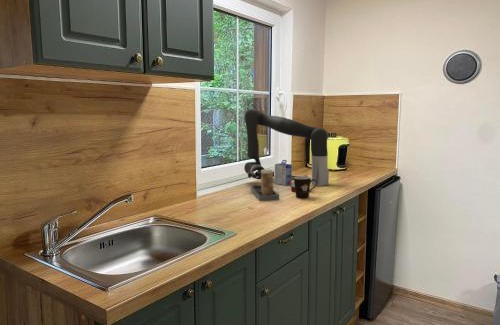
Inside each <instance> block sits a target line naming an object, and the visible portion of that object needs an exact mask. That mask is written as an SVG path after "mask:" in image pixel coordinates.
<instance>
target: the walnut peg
mask: <svg viewBox="0 0 500 325" xmlns="http://www.w3.org/2000/svg"><path fill="white" fill-rule="evenodd" d="M273 172H274V171H273V170H272V169H268V168H267V169H265V170H261V179H260V180H261V182H260V183H261V184H260V186H261V195H273V190H274V177H273Z"/></svg>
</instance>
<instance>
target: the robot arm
mask: <svg viewBox="0 0 500 325" xmlns="http://www.w3.org/2000/svg"><path fill="white" fill-rule="evenodd" d="M244 121H245V127H246V138H247V145H246V148H247V154H246V155H247V158H249V159H253V160H254V161H250V162H249V161H248V162H246V163H245V164H244V168H243V169H244V171H245V173H246V174H247V177H248V178H249V179H251V178H252V179H255V180H261V170H266V169H265V168H264V167H263V166H262V163H261V160H260V154H259V153H260V152H259V150H260V149H259V148H260V146H259V143H260V142H259V139H258V125H259V126H262V127H265V128H266V127H267V128H269V129H272V130H273V131H276V132H277V133H281V134H285V135H288V136H291V137H292V136H293V137H299V138H300V137H301V138H305V139H308V140H310V152H311V180H313V179H315V180H317V186H316V187H318V186H319V187H325V186H328V185H329V182H330V180H329V179H330V177H329V174H330V173H329V172H330V170H329V168H328V165H329V164H328V158H329V157H328V154H329V153H328V151H329V150H328V139H329V133H328V131H327V130H326V129H324V128H323V127H315V126H311V125H307V124H304V123H302V122H300V121H296V120H293V119H291V118H287V117H283V116H277V115H271V114H268V113H265V112H262V111H260V110H258V109H255V108H249V109H247V110H246V111H245V112H244ZM273 178H275V171H273ZM311 185H312V186H315V185H316V181H314V180H313V181H312V182H311Z"/></svg>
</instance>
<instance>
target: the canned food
mask: <svg viewBox="0 0 500 325" xmlns="http://www.w3.org/2000/svg"><path fill="white" fill-rule="evenodd" d="M304 176H307V177H309V176H308V175H307V174H306V175H304ZM290 188H291V189H290V191H291V192H292V193H295V184H294V181H292V184H291V185H290Z"/></svg>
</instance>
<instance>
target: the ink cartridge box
mask: <svg viewBox="0 0 500 325" xmlns="http://www.w3.org/2000/svg"><path fill="white" fill-rule="evenodd" d="M292 165H293V164H289V163H287V159H282V161H281V163H275V164H274V184H277V185H281V186H282V185H283V186H291V184H292V183H293V181H292V180H293V179H292V178H293V174H292V172H293V170H292V169H293V168H292Z"/></svg>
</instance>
